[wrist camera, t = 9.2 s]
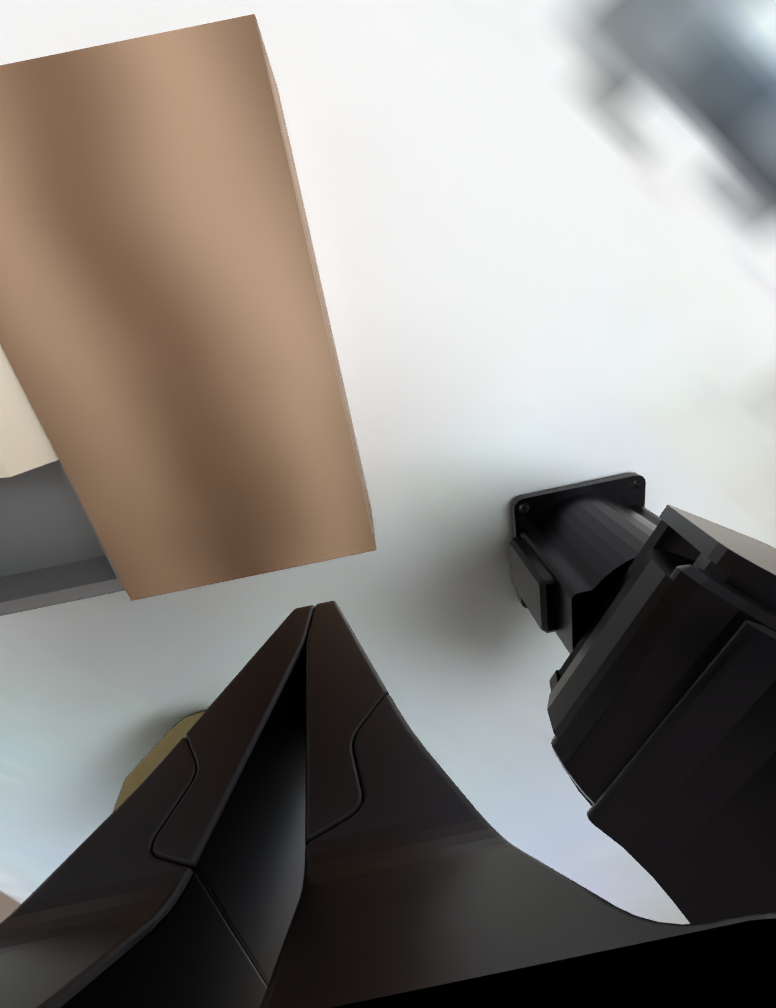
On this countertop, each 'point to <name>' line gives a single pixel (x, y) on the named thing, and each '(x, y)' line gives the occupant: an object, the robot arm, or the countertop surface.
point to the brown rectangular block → (175, 308)
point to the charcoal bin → (48, 543)
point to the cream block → (19, 427)
